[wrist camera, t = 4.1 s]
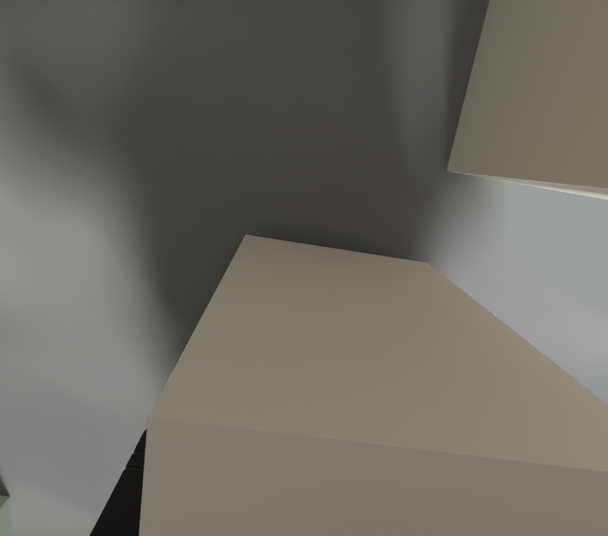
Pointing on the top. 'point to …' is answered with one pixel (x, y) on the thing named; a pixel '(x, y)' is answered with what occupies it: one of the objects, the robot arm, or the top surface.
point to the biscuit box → (366, 411)
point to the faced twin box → (538, 97)
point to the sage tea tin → (5, 516)
